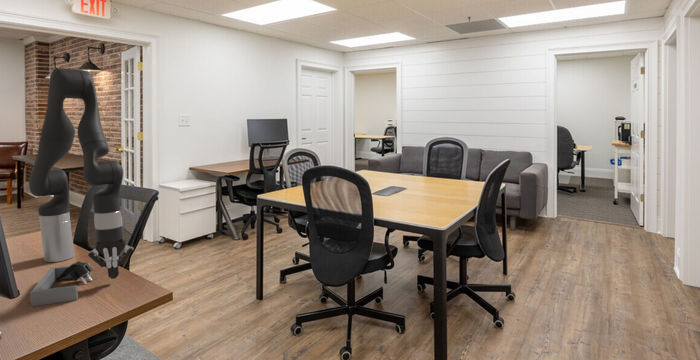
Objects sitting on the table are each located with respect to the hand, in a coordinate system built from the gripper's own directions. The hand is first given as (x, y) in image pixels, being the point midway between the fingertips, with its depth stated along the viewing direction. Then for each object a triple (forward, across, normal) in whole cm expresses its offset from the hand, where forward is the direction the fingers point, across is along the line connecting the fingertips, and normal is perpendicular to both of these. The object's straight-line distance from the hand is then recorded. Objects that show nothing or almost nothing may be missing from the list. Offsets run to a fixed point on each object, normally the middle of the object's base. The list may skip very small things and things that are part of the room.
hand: (114, 277), depth 134 cm
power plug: (+2, +13, -6) cm, 14 cm away
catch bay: (+2, +13, 0) cm, 14 cm away
